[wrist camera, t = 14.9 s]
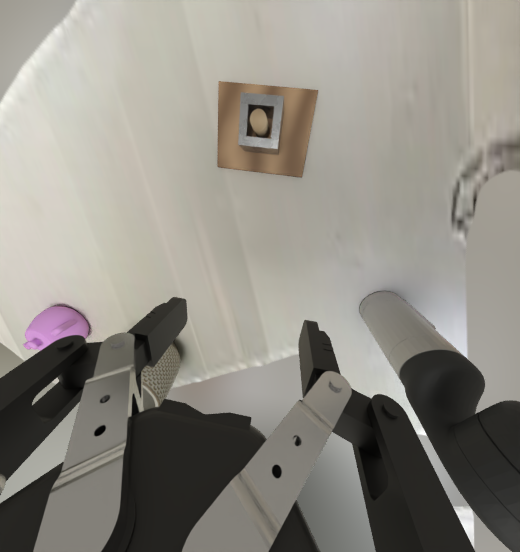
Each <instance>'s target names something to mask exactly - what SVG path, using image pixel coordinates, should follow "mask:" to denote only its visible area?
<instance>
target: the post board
mask: <svg viewBox="0 0 520 552" xmlns="http://www.w3.org/2000/svg"><path fill="white" fill-rule="evenodd" d="M241 92H243V93H255V94H266V95H278V96H284V117H283V125H282V133H281V140H280V148H279V155H273V154H264V153H254V152H245V151H244V150H243V149H242V148H241V147H240V146H239V145H238V139H239V118H240V98H241ZM317 93H318V90H310V89H299V88H288V87H277V86H266V85H255V84H243V83H232V82H221V81H219V99H218V167H221V168H229V169H237V170H245V171H254V172H262V173H270V174H278V175H287V176H295V177H302V173H303V168H304V163H305V157H306V152H307V147H308V141H309V136H310V131H311V125H312V120H313V115H314V109H315V104H316V99H317ZM250 123H251V126H252V128H253V134H252V137H259V138H269V139H271V133H272V124H273V119H269V118H267V117H266V114H265V112H264V111H263V110H262V109H255V110H254V111H253V112H252V114H251V116H250Z"/></svg>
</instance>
